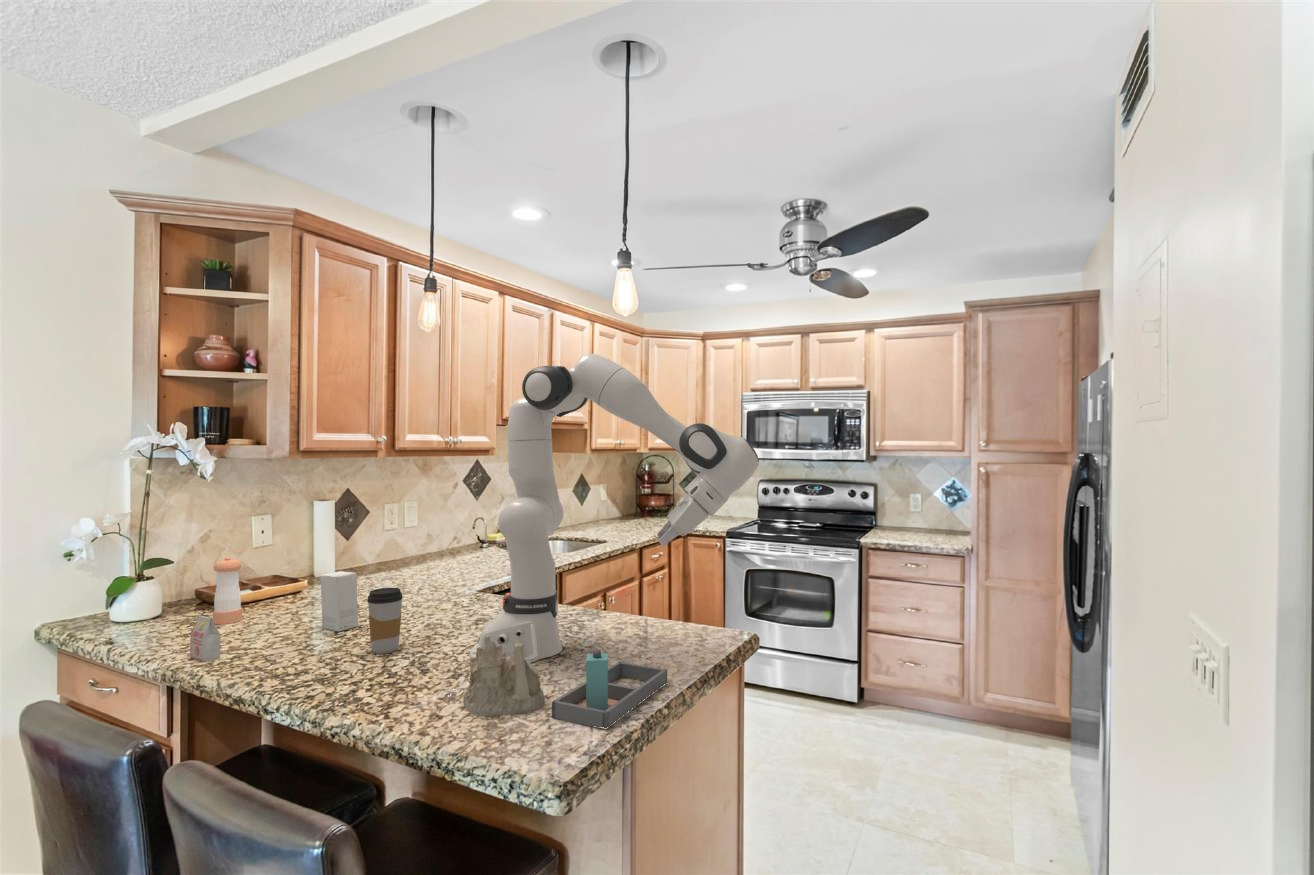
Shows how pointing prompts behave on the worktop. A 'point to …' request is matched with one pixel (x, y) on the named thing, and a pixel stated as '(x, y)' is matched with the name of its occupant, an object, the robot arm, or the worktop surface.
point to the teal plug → (597, 680)
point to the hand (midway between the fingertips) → (659, 540)
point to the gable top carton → (204, 640)
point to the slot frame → (610, 696)
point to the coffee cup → (385, 619)
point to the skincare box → (339, 601)
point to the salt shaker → (227, 592)
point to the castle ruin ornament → (502, 682)
